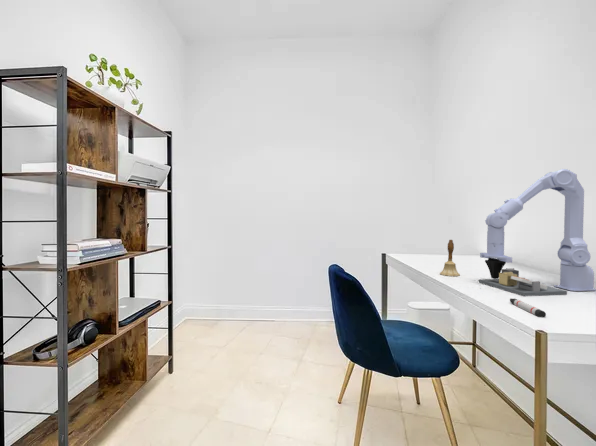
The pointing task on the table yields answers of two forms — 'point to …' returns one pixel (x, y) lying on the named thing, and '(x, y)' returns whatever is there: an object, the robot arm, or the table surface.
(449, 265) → the hand bell
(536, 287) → the panel
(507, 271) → the black slider
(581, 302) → the table surface
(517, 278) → the rocker
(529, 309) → the marker
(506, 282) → the brass slider
